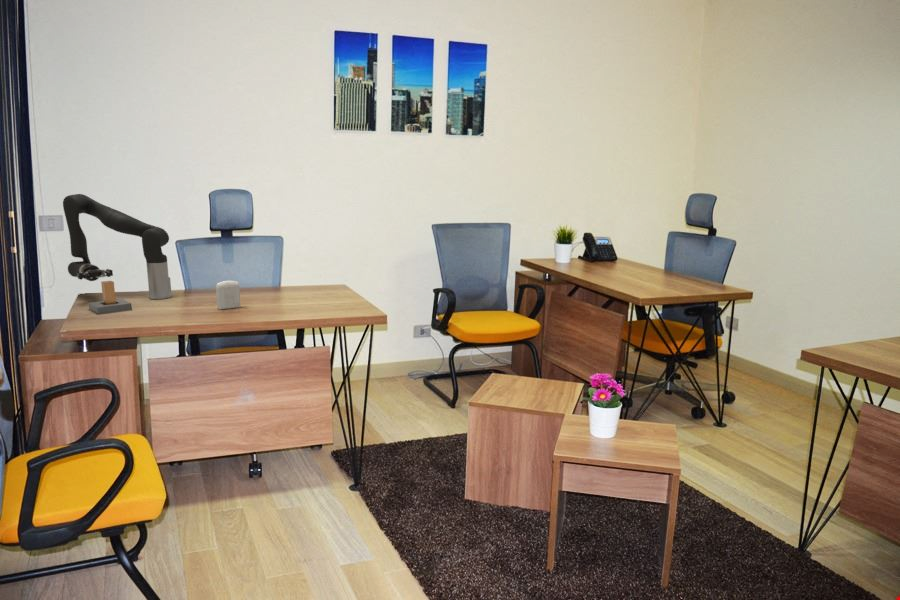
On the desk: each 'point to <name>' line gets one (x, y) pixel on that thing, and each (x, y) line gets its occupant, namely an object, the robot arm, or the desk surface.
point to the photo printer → (228, 294)
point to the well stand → (110, 307)
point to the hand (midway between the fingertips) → (99, 275)
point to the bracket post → (108, 292)
